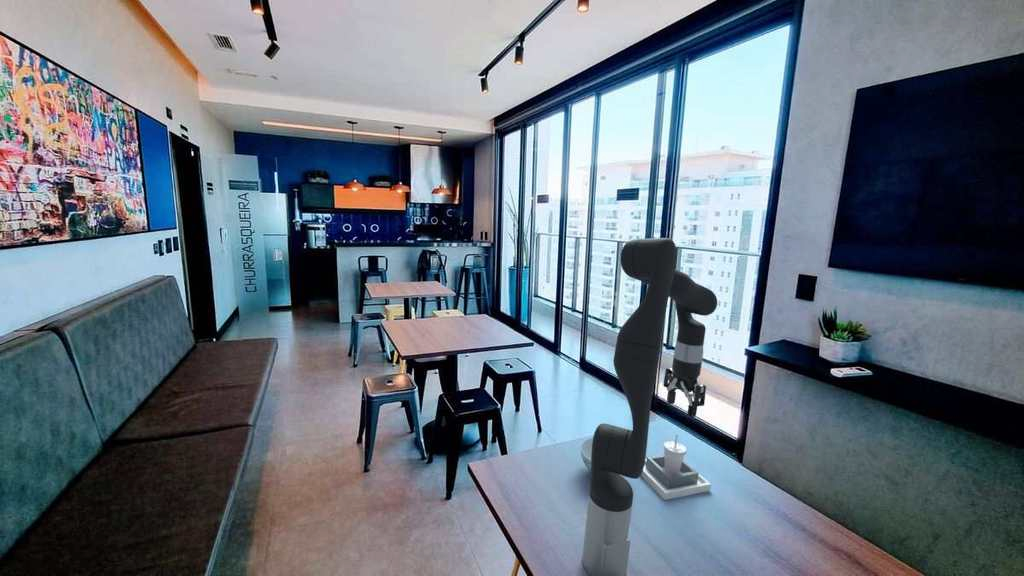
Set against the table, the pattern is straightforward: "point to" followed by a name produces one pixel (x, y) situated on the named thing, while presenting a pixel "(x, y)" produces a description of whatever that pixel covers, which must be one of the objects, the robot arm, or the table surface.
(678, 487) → the white square tray
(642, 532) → the table surface
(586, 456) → the chinaware
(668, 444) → the smoothie
